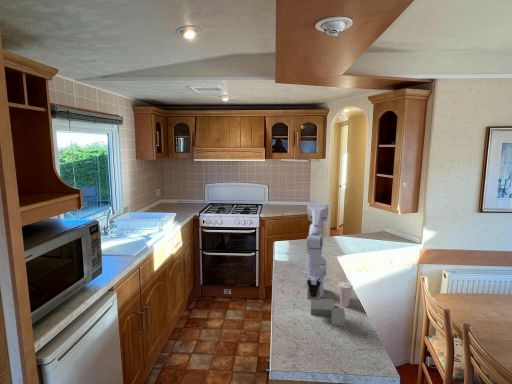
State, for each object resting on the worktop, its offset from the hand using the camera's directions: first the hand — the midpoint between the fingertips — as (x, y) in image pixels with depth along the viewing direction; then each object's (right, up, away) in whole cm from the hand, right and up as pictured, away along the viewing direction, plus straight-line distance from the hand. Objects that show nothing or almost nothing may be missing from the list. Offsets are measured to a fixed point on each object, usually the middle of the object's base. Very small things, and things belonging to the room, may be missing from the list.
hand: (313, 293), depth 134 cm
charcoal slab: (+5, -9, +5) cm, 11 cm away
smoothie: (+16, -8, +9) cm, 20 cm away
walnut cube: (0, -2, 0) cm, 2 cm away
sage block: (+9, -10, -5) cm, 15 cm away
